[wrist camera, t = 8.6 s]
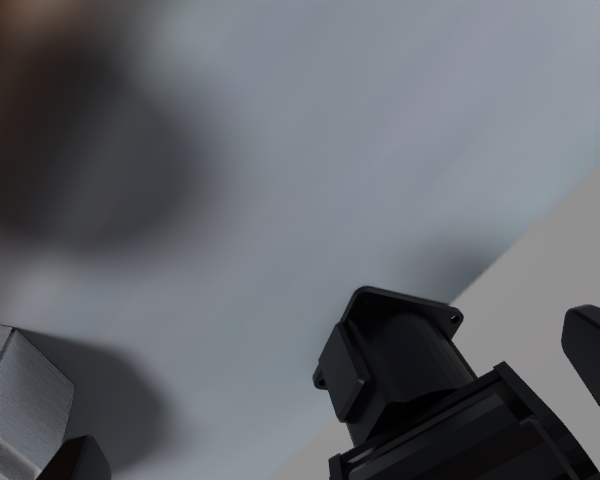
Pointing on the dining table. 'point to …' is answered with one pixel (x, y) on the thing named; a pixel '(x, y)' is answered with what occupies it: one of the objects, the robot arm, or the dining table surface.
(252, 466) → the dining table surface
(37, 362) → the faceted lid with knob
